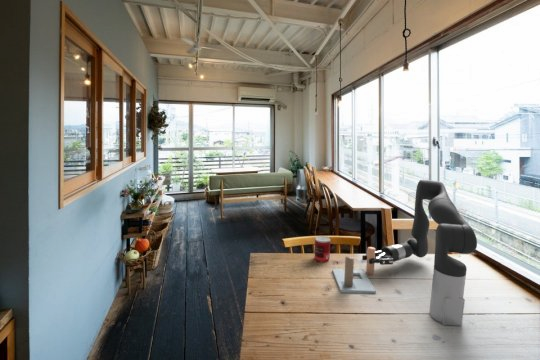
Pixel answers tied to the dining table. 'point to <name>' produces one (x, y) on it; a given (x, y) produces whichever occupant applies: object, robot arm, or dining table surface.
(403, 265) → the dining table surface
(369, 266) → the wooden peg
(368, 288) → the board
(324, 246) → the canned food
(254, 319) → the dining table surface
